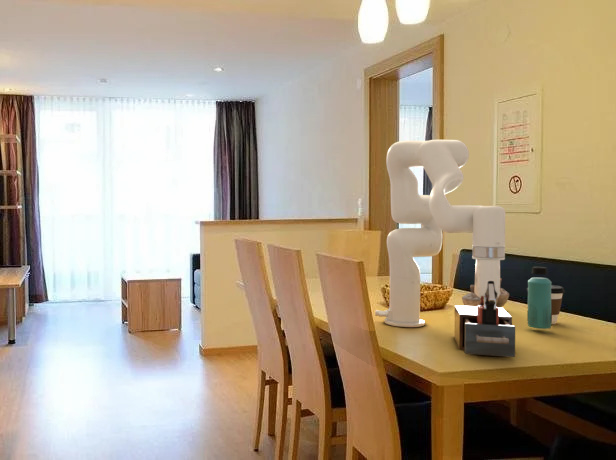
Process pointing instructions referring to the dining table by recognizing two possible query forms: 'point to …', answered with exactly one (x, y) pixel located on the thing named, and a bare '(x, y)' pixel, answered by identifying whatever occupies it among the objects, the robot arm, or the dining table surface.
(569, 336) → the dining table surface
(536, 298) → the beverage bottle
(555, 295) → the coffee cup
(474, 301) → the pottery
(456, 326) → the cabinet
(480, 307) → the block
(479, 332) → the drawer
